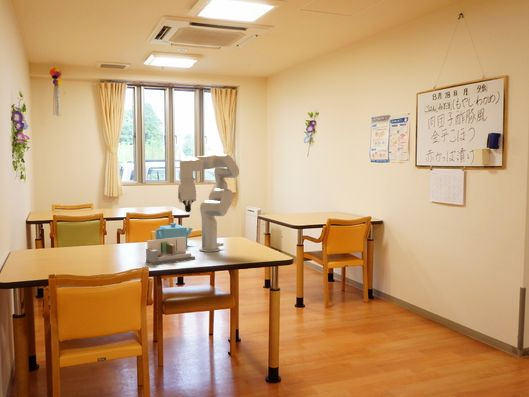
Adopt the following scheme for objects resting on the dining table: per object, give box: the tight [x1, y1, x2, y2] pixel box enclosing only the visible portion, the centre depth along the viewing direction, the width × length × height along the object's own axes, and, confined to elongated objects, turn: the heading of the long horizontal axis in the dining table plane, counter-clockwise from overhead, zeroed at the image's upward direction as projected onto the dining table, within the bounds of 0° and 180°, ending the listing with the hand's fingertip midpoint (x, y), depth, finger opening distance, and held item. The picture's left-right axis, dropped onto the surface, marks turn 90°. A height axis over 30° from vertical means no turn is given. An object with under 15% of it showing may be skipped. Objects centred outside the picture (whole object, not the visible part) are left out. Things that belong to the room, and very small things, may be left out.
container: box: [154, 222, 193, 248], centre depth 333 cm, size 17×25×15 cm
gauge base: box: [145, 237, 196, 266], centre depth 286 cm, size 26×10×12 cm, turn 127°
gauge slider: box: [158, 243, 175, 257], centre depth 284 cm, size 8×8×8 cm
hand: (188, 211), depth 295 cm, fingers closed
